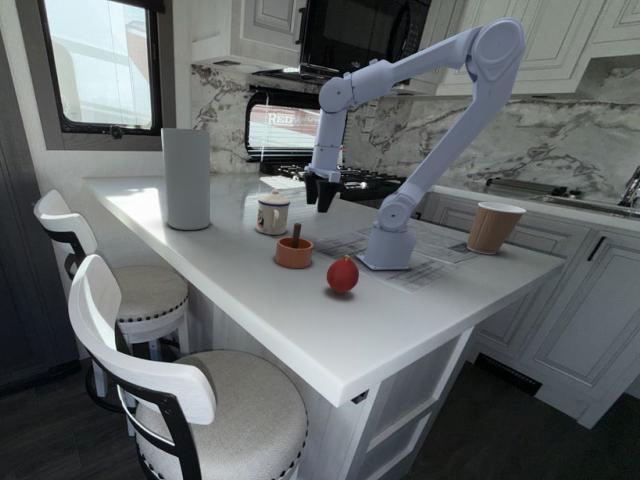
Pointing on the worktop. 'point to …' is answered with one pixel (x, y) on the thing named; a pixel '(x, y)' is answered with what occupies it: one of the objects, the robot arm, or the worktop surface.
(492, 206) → the coffee cup
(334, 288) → the onion
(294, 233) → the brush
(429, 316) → the worktop surface
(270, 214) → the teacup with lid
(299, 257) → the terracotta bowl
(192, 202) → the cylinder vase
